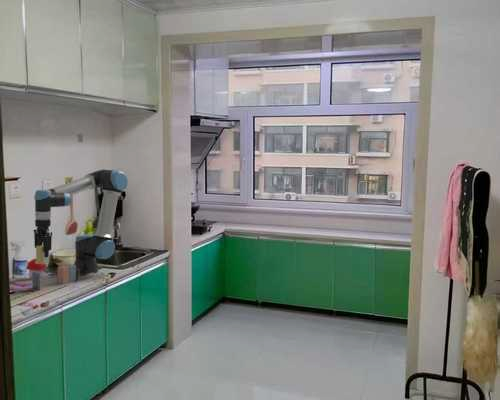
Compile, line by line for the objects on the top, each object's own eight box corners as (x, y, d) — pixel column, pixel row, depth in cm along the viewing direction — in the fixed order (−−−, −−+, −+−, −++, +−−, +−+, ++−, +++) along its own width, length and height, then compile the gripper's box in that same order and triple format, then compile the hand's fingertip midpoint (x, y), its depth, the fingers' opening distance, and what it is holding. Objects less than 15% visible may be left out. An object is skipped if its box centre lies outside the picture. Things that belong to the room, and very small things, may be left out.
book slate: (70, 279, 269) (70, 264, 268) (76, 281, 267) (76, 265, 266) (64, 280, 266) (64, 265, 265) (70, 282, 263) (70, 266, 262)
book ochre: (36, 262, 250) (36, 246, 249) (44, 261, 254) (44, 245, 253) (40, 264, 248) (40, 247, 247) (49, 262, 252) (49, 246, 251)
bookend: (34, 288, 250) (34, 271, 249) (39, 290, 247) (39, 273, 246) (28, 289, 247) (27, 273, 246) (33, 291, 244) (33, 274, 243)
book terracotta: (63, 281, 265) (63, 265, 264) (69, 282, 263) (69, 267, 262) (57, 282, 262) (57, 266, 261) (63, 284, 259) (63, 268, 259)
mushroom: (27, 276, 275) (26, 256, 274) (47, 275, 279) (47, 255, 278) (25, 281, 266) (25, 260, 264) (46, 280, 269) (46, 260, 268)
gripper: (27, 217, 250) (27, 260, 253) (46, 221, 241) (45, 266, 243) (40, 216, 257) (39, 258, 259) (59, 220, 247) (58, 263, 249)
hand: (42, 262), depth 251 cm, fingers closed on book ochre, 4 cm apart
